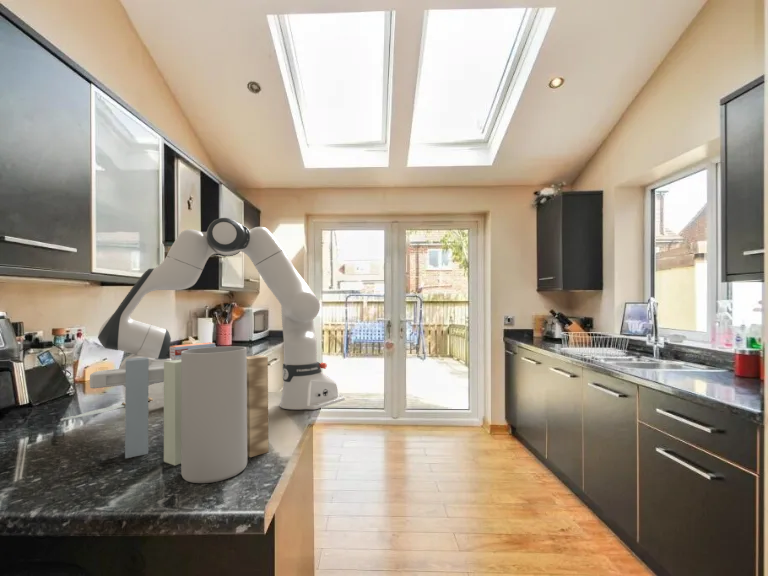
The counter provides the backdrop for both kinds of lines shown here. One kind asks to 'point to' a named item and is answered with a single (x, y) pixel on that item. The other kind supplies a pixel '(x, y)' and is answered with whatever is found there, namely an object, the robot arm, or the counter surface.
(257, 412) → the post oak
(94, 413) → the knife
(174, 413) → the post sage
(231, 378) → the cylinder vase
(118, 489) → the counter surface
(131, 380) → the post slate
